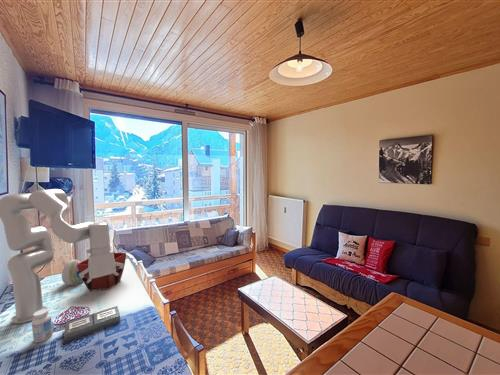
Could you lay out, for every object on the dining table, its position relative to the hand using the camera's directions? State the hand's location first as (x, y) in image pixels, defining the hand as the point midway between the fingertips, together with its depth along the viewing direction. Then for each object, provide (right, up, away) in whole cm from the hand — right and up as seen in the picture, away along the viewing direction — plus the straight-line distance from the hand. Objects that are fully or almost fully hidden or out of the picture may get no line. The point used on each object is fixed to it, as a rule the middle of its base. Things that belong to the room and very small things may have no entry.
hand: (103, 286), depth 106 cm
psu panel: (-3, -17, -2) cm, 17 cm away
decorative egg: (-45, -16, +41) cm, 63 cm away
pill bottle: (-20, -18, -9) cm, 28 cm away
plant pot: (-23, -15, +37) cm, 46 cm away
